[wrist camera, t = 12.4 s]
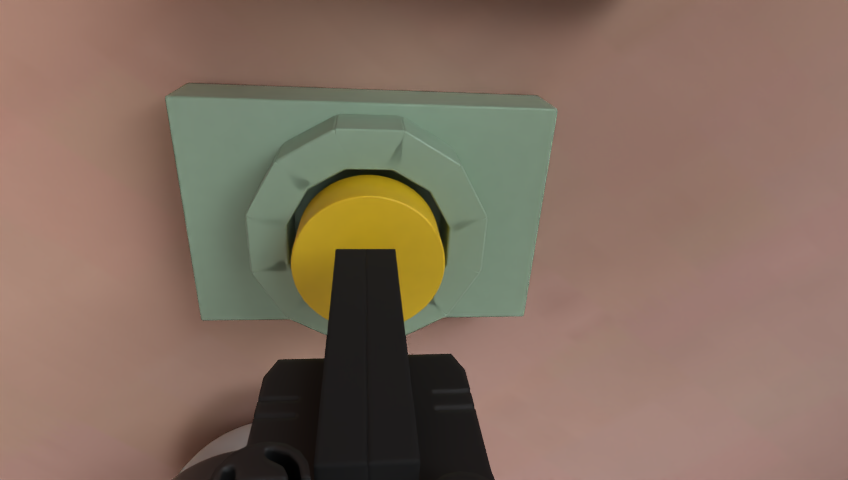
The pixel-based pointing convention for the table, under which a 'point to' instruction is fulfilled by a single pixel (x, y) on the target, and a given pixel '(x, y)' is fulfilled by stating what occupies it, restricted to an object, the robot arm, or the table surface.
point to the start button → (368, 239)
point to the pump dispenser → (214, 454)
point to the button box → (350, 156)
